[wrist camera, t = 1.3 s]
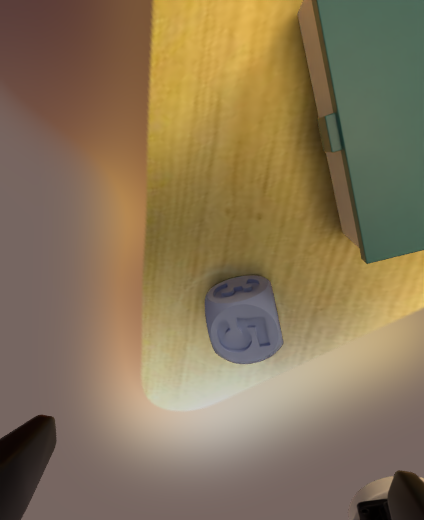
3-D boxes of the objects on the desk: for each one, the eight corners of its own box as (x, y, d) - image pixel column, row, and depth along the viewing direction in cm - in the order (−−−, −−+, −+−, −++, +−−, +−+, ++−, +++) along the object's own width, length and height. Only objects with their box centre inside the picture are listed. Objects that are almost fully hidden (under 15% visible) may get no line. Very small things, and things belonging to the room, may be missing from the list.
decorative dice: (279, 323, 23) (286, 359, 19) (222, 334, 24) (218, 369, 20) (268, 270, 22) (272, 295, 18) (208, 281, 23) (200, 309, 19)
